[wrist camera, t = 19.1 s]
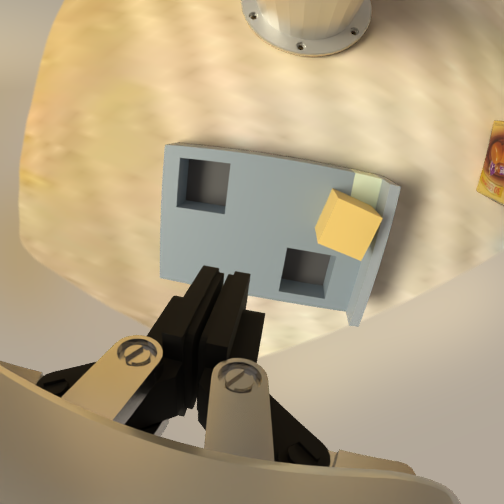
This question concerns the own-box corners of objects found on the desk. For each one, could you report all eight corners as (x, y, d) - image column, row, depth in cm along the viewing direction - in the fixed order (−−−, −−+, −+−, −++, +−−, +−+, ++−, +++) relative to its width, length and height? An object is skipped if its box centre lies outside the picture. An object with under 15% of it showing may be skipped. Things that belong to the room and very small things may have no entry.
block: (332, 188, 26) (338, 198, 23) (371, 205, 27) (382, 218, 23) (314, 227, 28) (317, 243, 24) (353, 243, 28) (361, 261, 25)
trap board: (176, 142, 30) (153, 146, 25) (383, 176, 28) (400, 186, 23) (169, 266, 35) (150, 289, 30) (350, 298, 34) (358, 326, 29)
